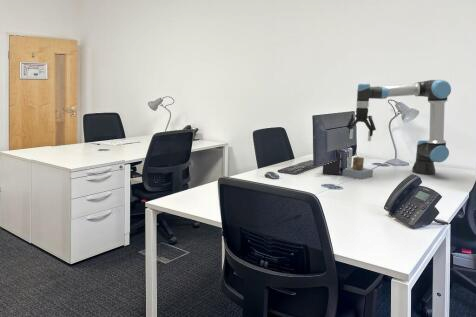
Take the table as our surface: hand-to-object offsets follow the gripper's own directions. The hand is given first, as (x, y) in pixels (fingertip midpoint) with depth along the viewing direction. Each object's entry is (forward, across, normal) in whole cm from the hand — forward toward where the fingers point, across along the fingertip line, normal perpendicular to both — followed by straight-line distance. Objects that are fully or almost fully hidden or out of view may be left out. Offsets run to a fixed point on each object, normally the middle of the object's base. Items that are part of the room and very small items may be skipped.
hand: (360, 139), depth 273 cm
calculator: (+25, -15, -9) cm, 30 cm away
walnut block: (+20, 0, 0) cm, 20 cm away
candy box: (+25, -19, +13) cm, 34 cm away
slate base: (+25, 0, 0) cm, 25 cm away
